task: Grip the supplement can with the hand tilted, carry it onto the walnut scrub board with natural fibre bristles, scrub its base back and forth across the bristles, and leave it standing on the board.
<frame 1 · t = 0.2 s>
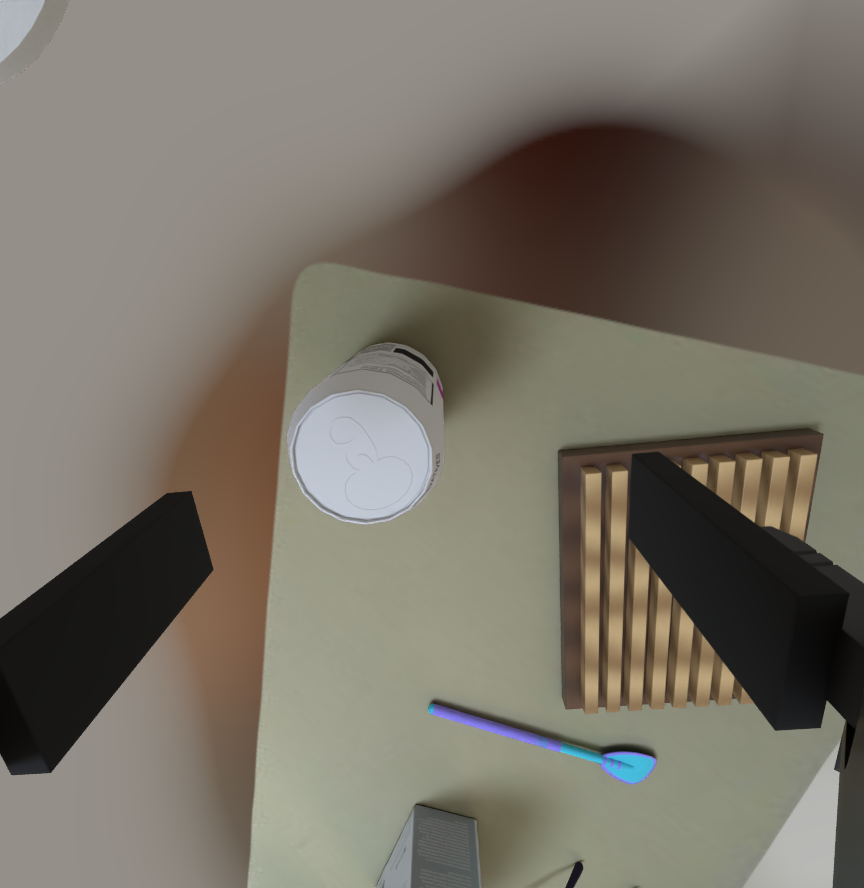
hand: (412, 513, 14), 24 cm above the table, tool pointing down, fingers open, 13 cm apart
hard drive box: (424, 851, 54), on the table
supplement can: (391, 393, 37), on the table
spoon: (542, 735, 48), on the table
scrub board: (672, 576, 42), on the table
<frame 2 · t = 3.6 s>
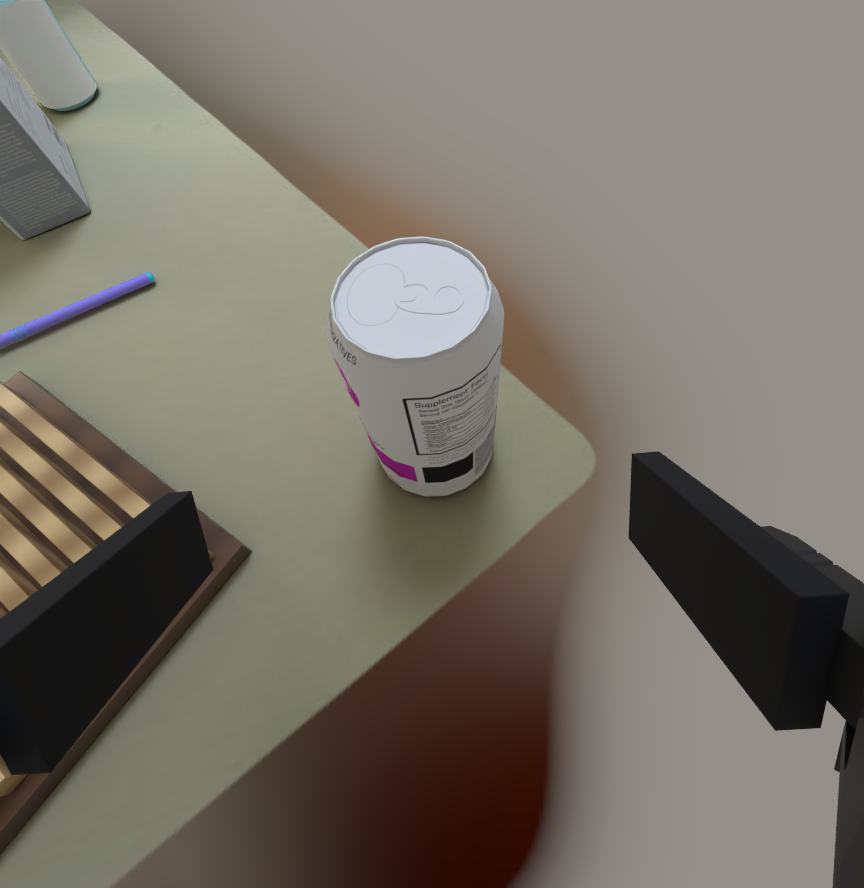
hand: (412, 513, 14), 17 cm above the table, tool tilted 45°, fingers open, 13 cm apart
hard drive box: (47, 191, 52), on the table
can: (74, 100, 60), on the table
supplement can: (435, 447, 34), on the table
spoon: (22, 340, 42), on the table
scrub board: (17, 568, 32), on the table
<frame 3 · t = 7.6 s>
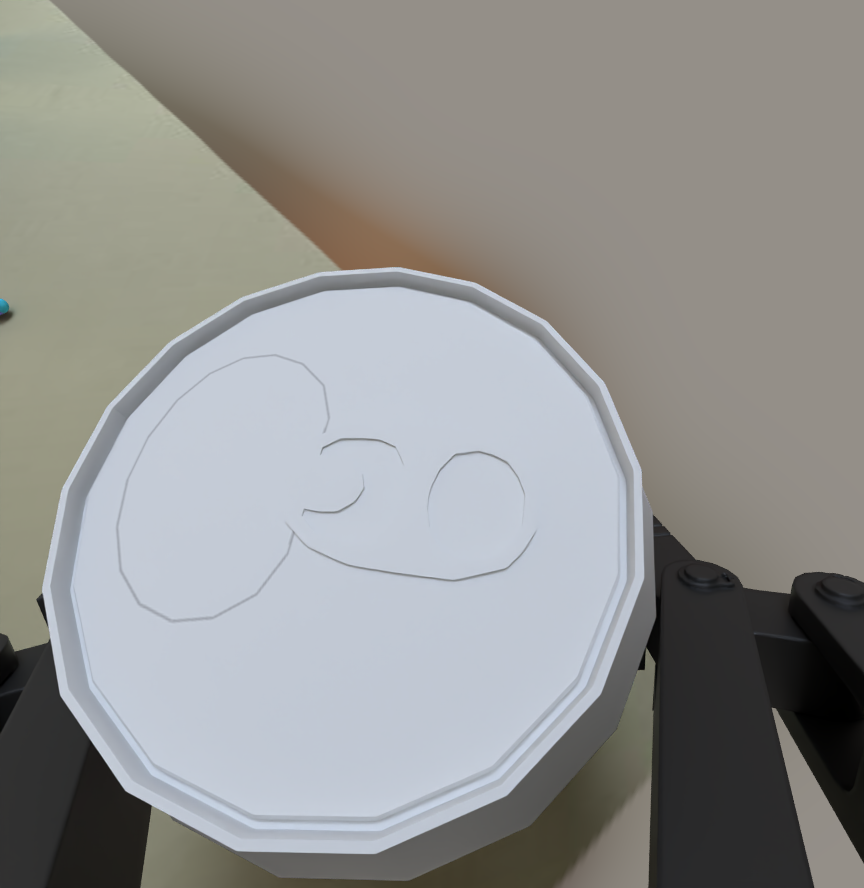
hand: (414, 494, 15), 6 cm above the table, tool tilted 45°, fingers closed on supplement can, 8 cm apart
supplement can: (433, 621, 19), on the table, touching gripper
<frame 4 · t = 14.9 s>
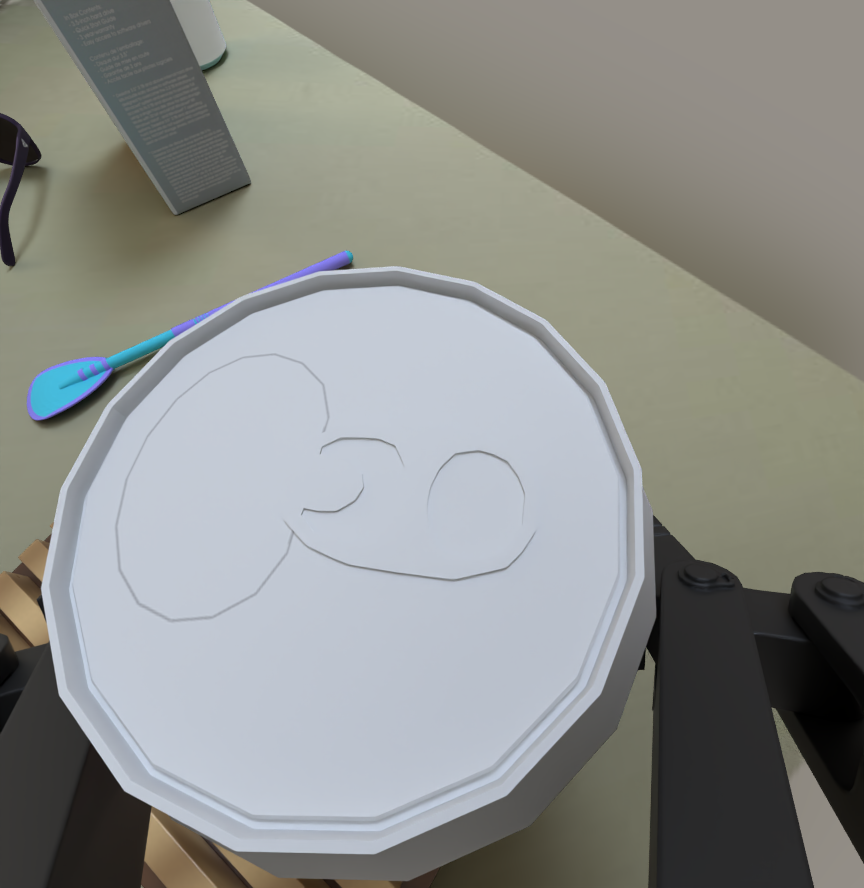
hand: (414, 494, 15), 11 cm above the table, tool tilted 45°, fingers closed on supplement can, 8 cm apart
hard drive box: (190, 159, 44), on the table
can: (199, 60, 53), on the table
supplement can: (433, 620, 19), point 5 cm above the table, touching gripper
spoon: (202, 331, 34), on the table
scrub board: (264, 623, 25), on the table
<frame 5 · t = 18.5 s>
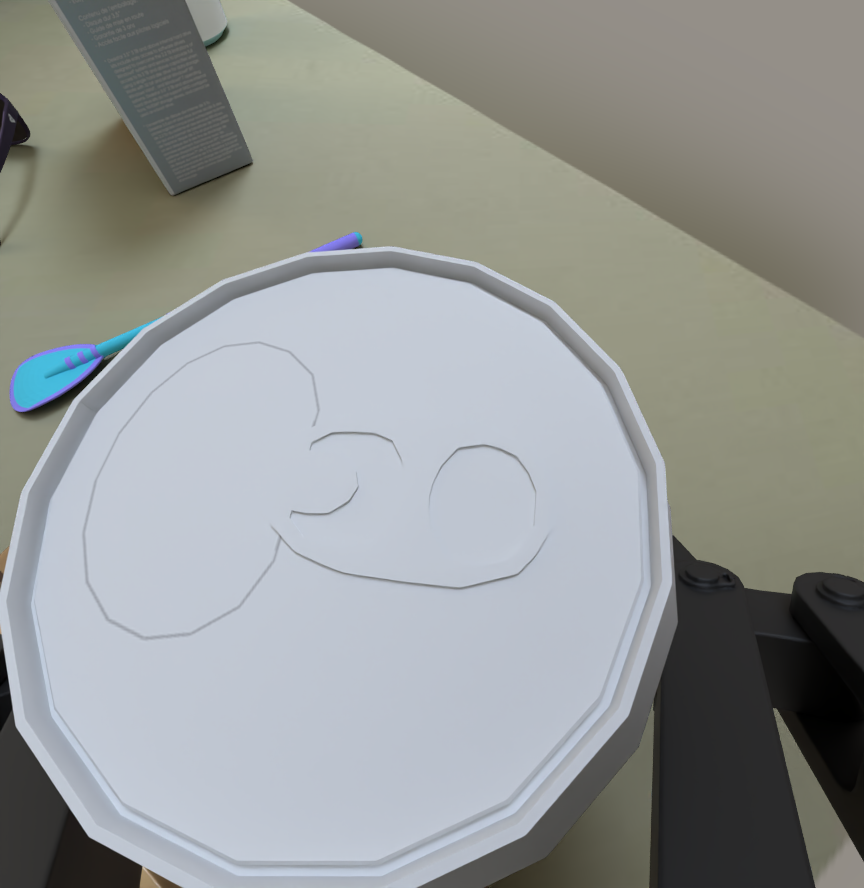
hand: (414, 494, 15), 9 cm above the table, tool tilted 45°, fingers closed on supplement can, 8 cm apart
hard drive box: (188, 138, 42), on the table
can: (198, 38, 50), on the table
supplement can: (431, 621, 19), point 4 cm above the table, touching gripper
spoon: (199, 318, 32), on the table
scrub board: (266, 636, 22), on the table
when the fingers open (8 cm above the table, at t = 19.9 s): supplement can stays where it is, resting on scrub board.
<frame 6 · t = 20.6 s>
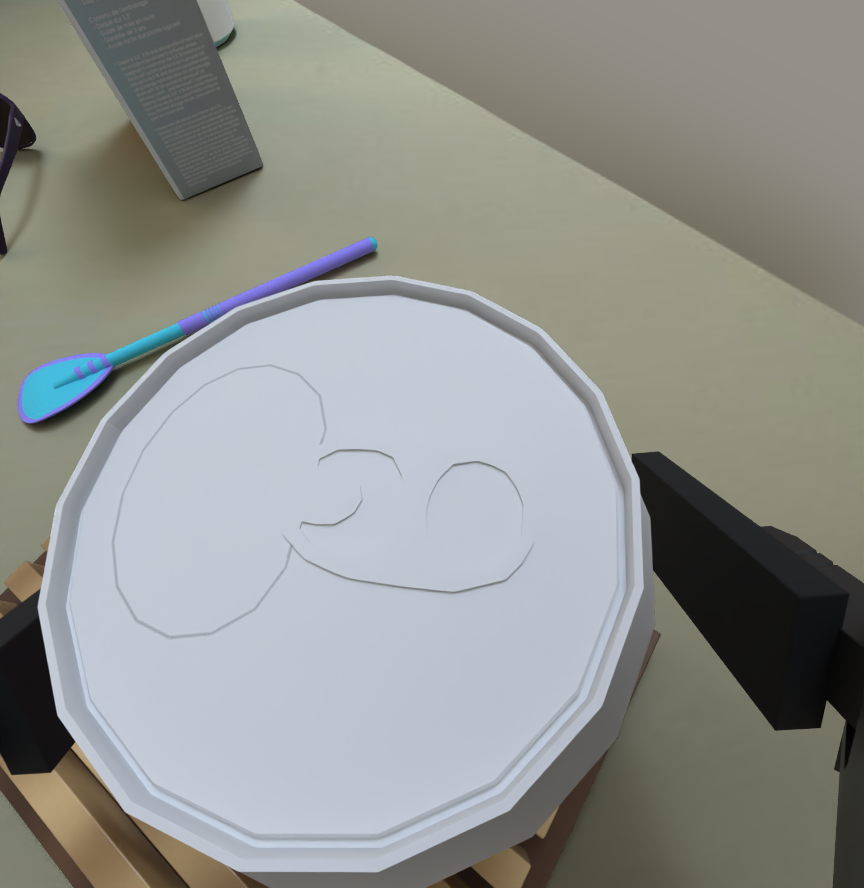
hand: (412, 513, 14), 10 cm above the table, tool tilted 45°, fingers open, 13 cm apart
hard drive box: (197, 142, 41), on the table
can: (205, 40, 49), on the table
supplement can: (432, 623, 19), point 3 cm above the table, touching scrub board
spoon: (211, 325, 31), on the table
scrub board: (287, 658, 22), on the table
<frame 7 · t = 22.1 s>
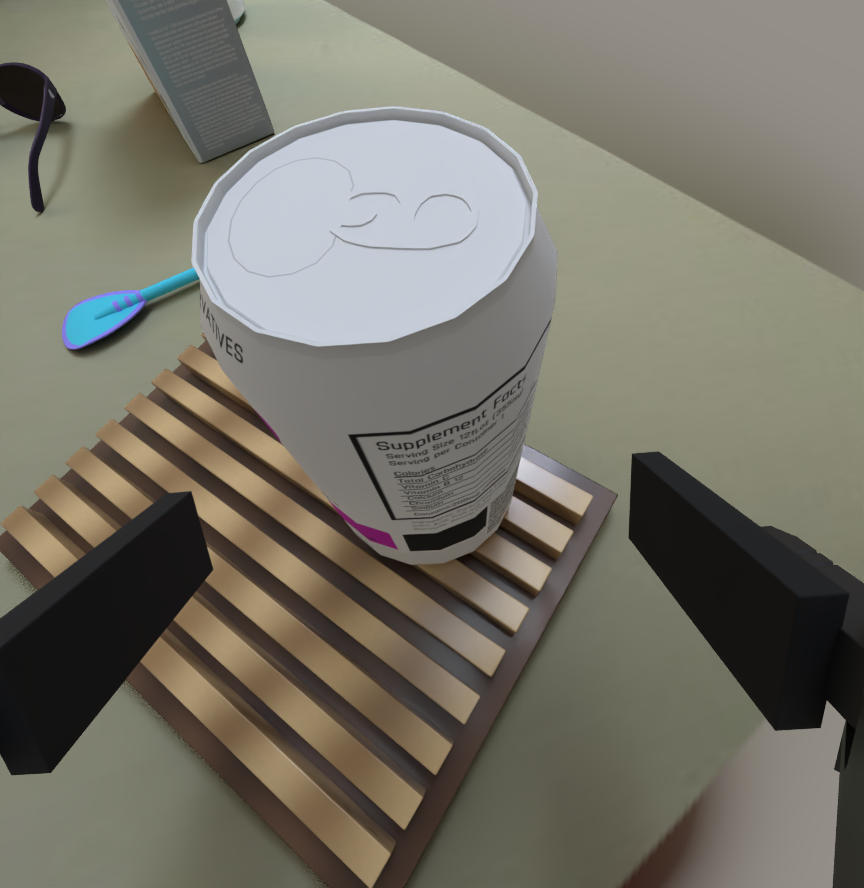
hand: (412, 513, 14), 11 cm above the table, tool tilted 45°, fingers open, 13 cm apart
hard drive box: (213, 113, 45), on the table
can: (217, 23, 53), on the table
supplement can: (427, 484, 23), point 3 cm above the table, touching scrub board
spoon: (231, 268, 35), on the table
scrub board: (304, 527, 25), on the table
sunglasses: (7, 174, 43), on the table
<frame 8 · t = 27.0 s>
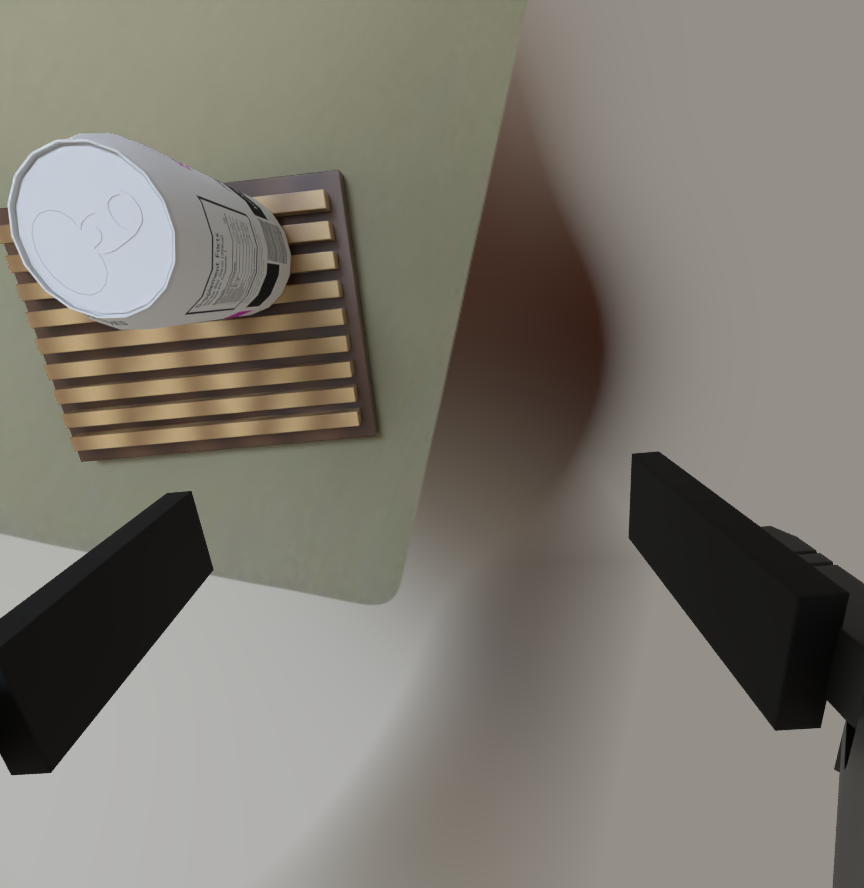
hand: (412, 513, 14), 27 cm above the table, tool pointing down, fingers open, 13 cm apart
supplement can: (238, 256, 34), point 3 cm above the table, touching scrub board
scrub board: (206, 328, 39), on the table
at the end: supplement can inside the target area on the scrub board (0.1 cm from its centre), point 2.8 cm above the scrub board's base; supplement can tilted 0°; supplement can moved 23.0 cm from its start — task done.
